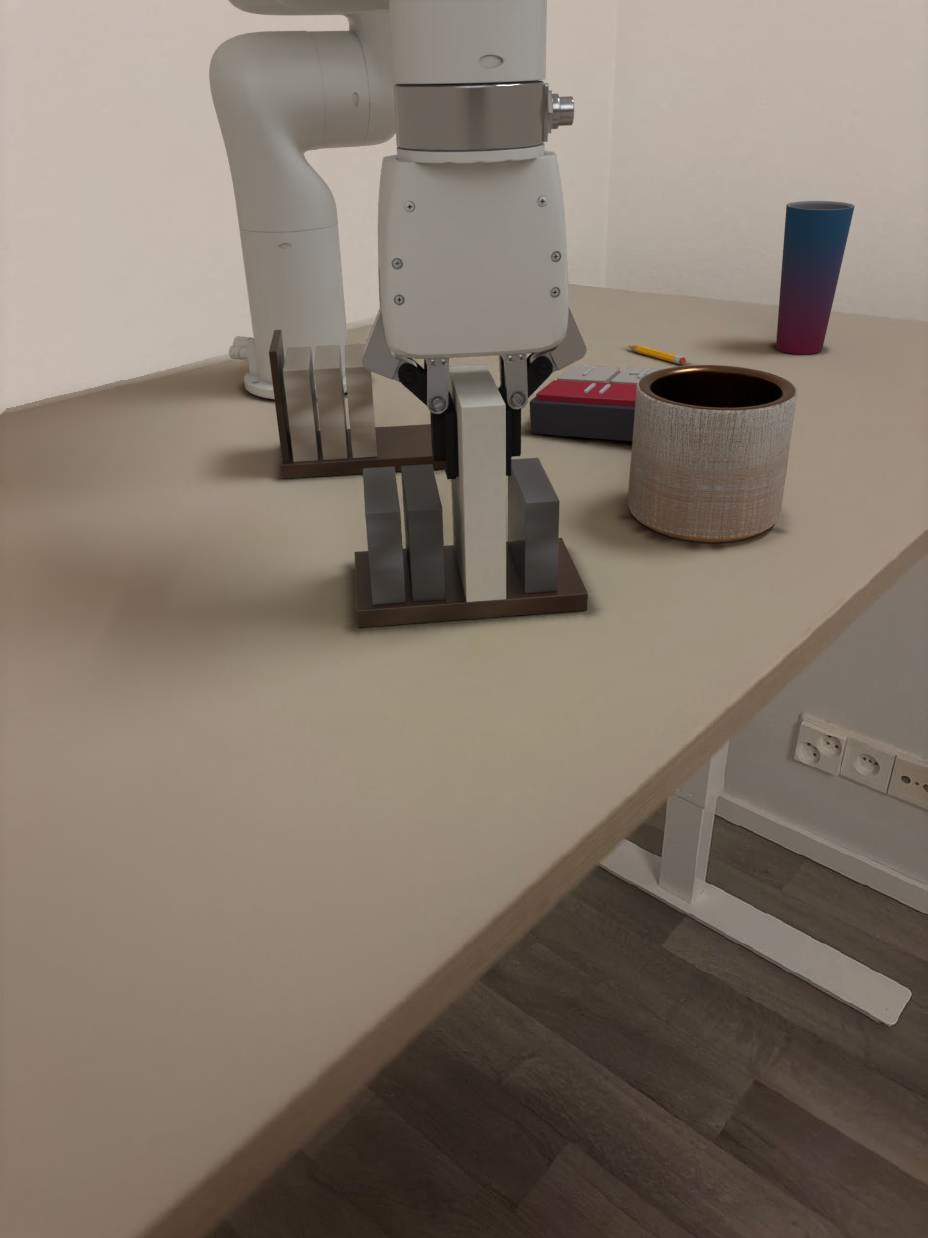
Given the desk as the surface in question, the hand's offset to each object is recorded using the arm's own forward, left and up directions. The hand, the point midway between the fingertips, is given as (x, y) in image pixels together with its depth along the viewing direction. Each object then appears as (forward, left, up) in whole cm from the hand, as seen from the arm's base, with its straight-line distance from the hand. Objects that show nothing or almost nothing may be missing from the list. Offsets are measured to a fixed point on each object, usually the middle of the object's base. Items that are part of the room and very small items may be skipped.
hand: (476, 466), depth 58 cm
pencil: (-5, +56, -8) cm, 57 cm away
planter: (+10, +17, -8) cm, 21 cm away
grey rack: (-1, 0, -8) cm, 8 cm away
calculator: (-1, +34, -8) cm, 35 cm away
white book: (0, 0, -7) cm, 7 cm away
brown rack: (-19, +18, -8) cm, 27 cm away
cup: (+9, +66, -8) cm, 67 cm away
